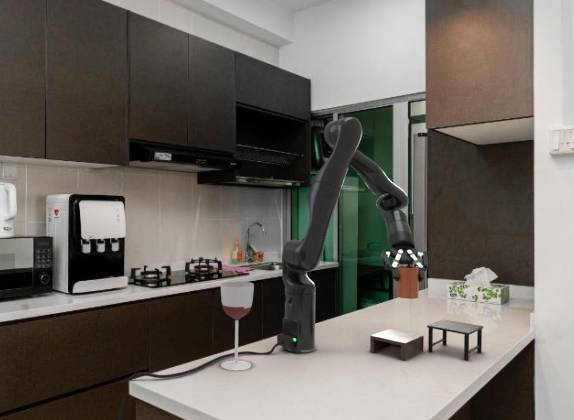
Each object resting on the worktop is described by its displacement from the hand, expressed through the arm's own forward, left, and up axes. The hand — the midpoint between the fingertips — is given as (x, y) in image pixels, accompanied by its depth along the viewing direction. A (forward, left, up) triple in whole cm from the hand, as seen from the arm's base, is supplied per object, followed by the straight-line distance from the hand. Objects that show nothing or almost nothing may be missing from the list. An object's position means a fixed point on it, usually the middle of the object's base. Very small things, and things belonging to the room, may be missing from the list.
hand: (409, 279), depth 141 cm
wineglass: (-45, +27, -22) cm, 57 cm away
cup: (+1, +1, -5) cm, 6 cm away
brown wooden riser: (-1, +3, -22) cm, 22 cm away
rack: (+12, -9, -22) cm, 26 cm away
